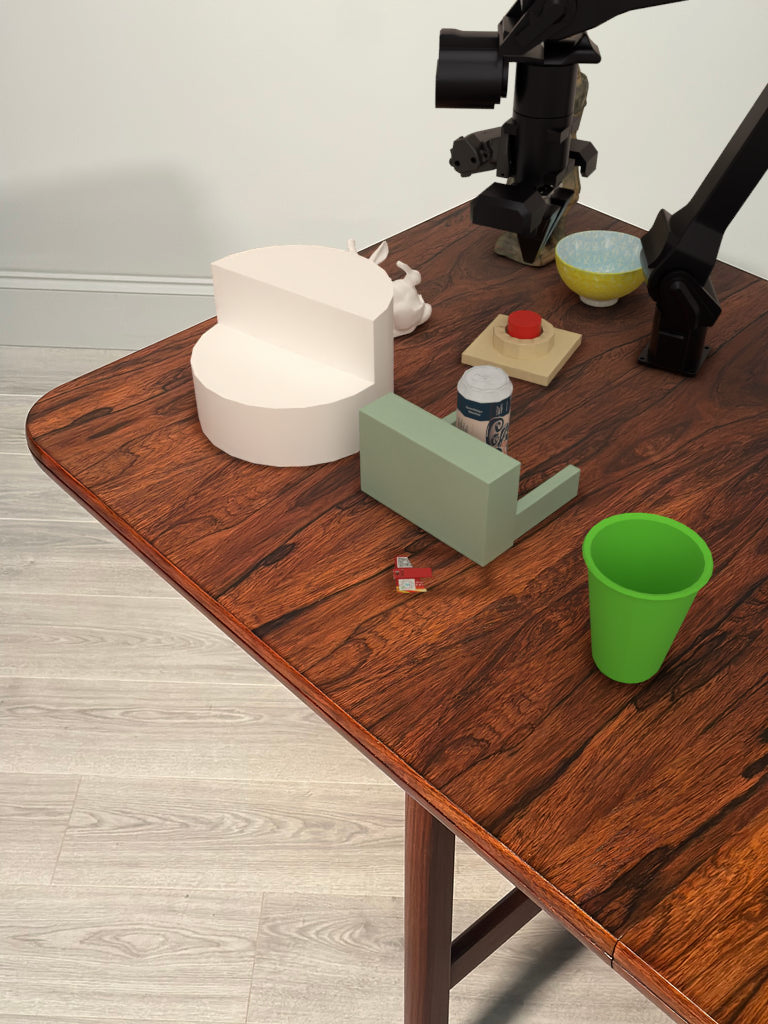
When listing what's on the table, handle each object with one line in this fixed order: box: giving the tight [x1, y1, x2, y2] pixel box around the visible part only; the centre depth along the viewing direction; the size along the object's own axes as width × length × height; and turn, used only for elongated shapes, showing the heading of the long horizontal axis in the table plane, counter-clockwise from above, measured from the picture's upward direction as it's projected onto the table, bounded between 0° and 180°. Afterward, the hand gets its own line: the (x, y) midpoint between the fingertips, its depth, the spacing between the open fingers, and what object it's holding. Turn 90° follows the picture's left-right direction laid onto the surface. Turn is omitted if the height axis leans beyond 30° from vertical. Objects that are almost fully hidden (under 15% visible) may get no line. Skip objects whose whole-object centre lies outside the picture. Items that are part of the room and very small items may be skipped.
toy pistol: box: [392, 555, 434, 594], centre depth 88 cm, size 8×1×5 cm
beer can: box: [456, 365, 514, 455], centre depth 93 cm, size 5×5×12 cm
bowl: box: [555, 230, 645, 308], centre depth 123 cm, size 11×12×6 cm
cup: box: [581, 512, 714, 684], centre depth 77 cm, size 9×9×11 cm
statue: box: [493, 35, 590, 267], centre depth 125 cm, size 11×9×30 cm
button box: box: [461, 313, 583, 387], centre depth 114 cm, size 10×10×3 cm
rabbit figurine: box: [346, 238, 433, 339], centre depth 117 cm, size 12×8×10 cm, turn 103°
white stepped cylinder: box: [190, 244, 395, 468], centre depth 103 cm, size 20×20×13 cm
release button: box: [507, 309, 543, 339], centre depth 113 cm, size 4×4×2 cm
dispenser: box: [359, 392, 582, 568], centre depth 93 cm, size 14×15×9 cm
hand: (529, 261), depth 108 cm, fingers closed
